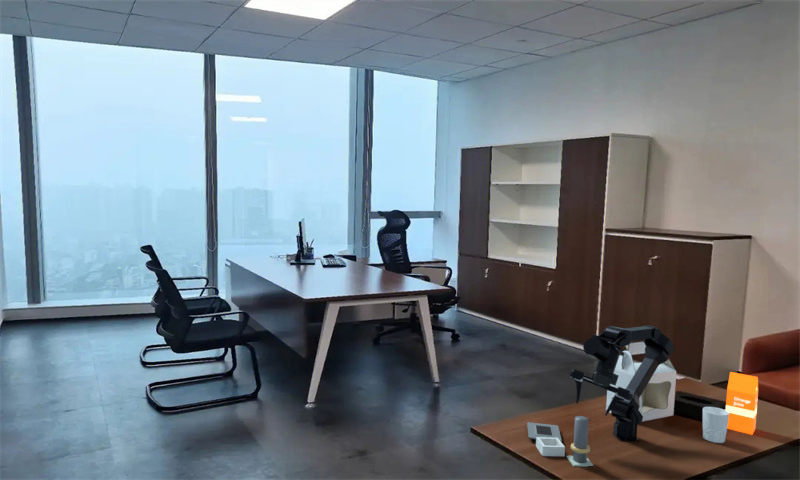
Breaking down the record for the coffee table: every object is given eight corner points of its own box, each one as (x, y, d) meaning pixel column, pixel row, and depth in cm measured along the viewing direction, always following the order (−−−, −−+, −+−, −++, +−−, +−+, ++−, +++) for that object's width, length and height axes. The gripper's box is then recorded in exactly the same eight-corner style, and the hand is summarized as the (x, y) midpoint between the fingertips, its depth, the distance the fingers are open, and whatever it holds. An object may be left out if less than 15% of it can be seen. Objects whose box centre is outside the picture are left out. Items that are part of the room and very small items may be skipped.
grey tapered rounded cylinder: (581, 454, 171) (583, 414, 170) (593, 462, 166) (595, 420, 165) (566, 457, 169) (568, 416, 168) (578, 465, 164) (580, 422, 163)
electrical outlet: (561, 446, 179) (561, 439, 179) (528, 443, 181) (528, 436, 181) (557, 431, 192) (558, 424, 192) (526, 428, 194) (527, 421, 194)
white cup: (724, 436, 191) (726, 408, 191) (729, 445, 184) (731, 416, 183) (698, 433, 194) (700, 405, 193) (703, 441, 186) (705, 412, 186)
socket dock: (557, 446, 178) (557, 437, 178) (564, 456, 171) (565, 447, 171) (535, 446, 178) (536, 437, 177) (542, 455, 171) (542, 446, 170)
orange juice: (727, 422, 205) (731, 369, 204) (755, 428, 200) (759, 374, 198) (723, 428, 199) (727, 373, 198) (752, 435, 194) (756, 379, 192)
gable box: (645, 404, 222) (649, 335, 220) (674, 415, 210) (679, 343, 209) (605, 411, 212) (609, 339, 210) (633, 423, 200) (638, 348, 199)
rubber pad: (585, 457, 171) (585, 455, 171) (593, 466, 165) (593, 464, 165) (566, 457, 170) (566, 455, 170) (573, 466, 164) (573, 464, 164)
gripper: (578, 350, 176) (561, 397, 173) (638, 373, 169) (622, 422, 166) (578, 354, 186) (562, 398, 184) (635, 375, 179) (620, 421, 177)
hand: (591, 409), depth 177 cm, fingers open, 9 cm apart
